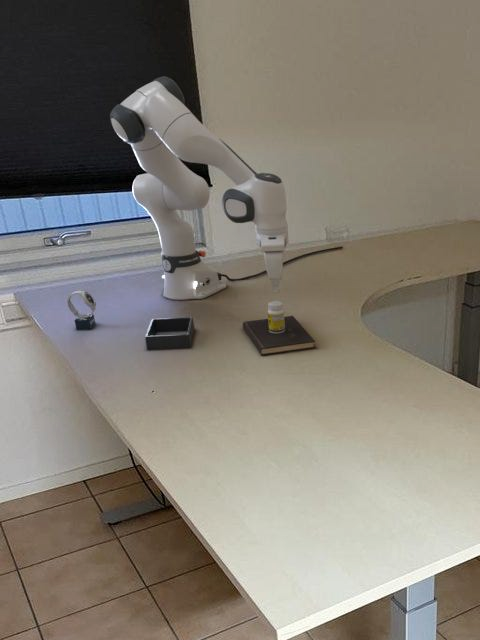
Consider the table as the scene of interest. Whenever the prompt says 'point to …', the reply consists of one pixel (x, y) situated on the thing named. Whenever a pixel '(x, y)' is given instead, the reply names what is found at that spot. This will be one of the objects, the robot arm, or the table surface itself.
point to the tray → (170, 340)
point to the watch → (83, 319)
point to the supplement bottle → (276, 317)
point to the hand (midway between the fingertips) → (275, 286)
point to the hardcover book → (278, 337)
